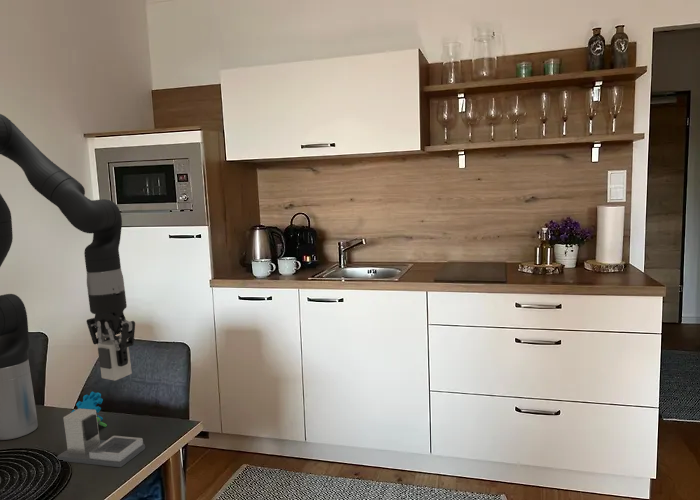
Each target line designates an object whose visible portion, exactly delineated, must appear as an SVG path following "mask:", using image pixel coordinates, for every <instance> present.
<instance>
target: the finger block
mask: <svg viewBox="0 0 700 500" xmlns="http://www.w3.org/2000/svg"><path fill="white" fill-rule="evenodd" d="M127 341H128V339H127ZM119 343H120V344H121V339H119ZM96 346H97V354H98V361H99V367H100V376H101V379H105V380H111V381H118V380H121V379H123V378H125V377H127V376H129V375H132V374H133V372H132V365H131V355H130V347H128V348H127V355H128V363H127V365H124V366H118V364H117V355H116V351H117V350H116V347H115V344H114V342H113V341H111V340H107V341H104V342H101V343H98V344H96Z"/></svg>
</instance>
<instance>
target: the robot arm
mask: <svg viewBox="0 0 700 500" xmlns="http://www.w3.org/2000/svg"><path fill="white" fill-rule="evenodd" d="M0 156H3V157H6V158H7V159H9V160H10V161H11V162H14V163H15V164H16V165H18V167H20V169H21V170H22V171H23V172H24V175H25V177H26V179H27V181H28V183H29V184H30V185H31V186H32V188H34V190H35V191H36V192H38V193H39V195H41V196H42V197H43V198H46V200H48V201H49V202H50V203H51V204H53V205H55V206H56V207H57V208H58V210H59V211H60V212H61V213H62V215H63V216H64V217H65V218H66V219H67V221H68V223H70V224H71V226H73V227H74V228H75V229H77V230H79V231H80V232H82V233H85V234H93V235H92V242H91V243H90V244H88V245H87V246H86V247H85V248H84V253H83V255H84V264H85V270H86V271H85V272H86V287H87V295H88V304H89V305H88V306H89V311H90V313H91V314H92V315H94V317H92V318H89V319H86V324H87V327H88V331H89V334H90V337H91V341H92V343H93V345H97V344H98V343H101V342H104V341H107V340H111V341H113V342H114V344H115V347H116V350H117V351H116V355H117V364H118V366H124V365H127V363H128V355H127V348H128V347H129V348H130V347H132V346H134V343H135V332H136V322H135V321H134V320H132V321H129V320H127V319H126V317H125V313H124V311H125V309H126V308H127V307H128V306H127V297H126V290H125V282H124V281H125V280H124V275H123V271H122V267H121V265H122V264H121V258H120V251H119V250H120V248H119V247H120V243H121V238H122V236H121V235H122V229H123V228H122V226H123V221H122V220H123V219H122V214H121V211H120V208H119V206H118V205H117V203H115V202H114V201H112V200H110V199H102V198H101V199H93V200H91V199H90V198H88V197H86V196H85V194H86V190H85V187H84V185H83V184H82V183H81V182H79V181H78V180H77V179H76V178H74V177H73V176H72V175H70V173H68V172H66V171H65V170H64V169H62V168H61V167H60V166H58V165H57V164H56V163H54V161H52V160H51V159H50V158H49V157H47V156H46V155H45V154H44V153H43V152H42V151H41V150H40V149H39V148H38V147H37V146H36V145H35V144H34V143H33V142H32V140H30V139H29V138H28V137H27V136H26V135H25V134H24V132H23V131H21V129H19V127H18V126H17V125H16V124H15V123H14V122H13V121H12V120H10V119H9V118H8V117H7V116H5V115H4V114H1V113H0ZM12 220H13V219H12V213H11V210H10V207H9V205H8V204H7V202H6V200H5V199H4V197H3V195H2V194H1V193H0V268H1V266H2V265H3V263H4V261H5V259H6V258H7V256H8V253H9V252H10V249H11V247H12V244H13V225H12V224H13V222H12ZM29 335H30V334H29V322H28V313H27V309H26V306H25V303H24V302H23V300H22V299H21V298H20V296H18V295H17V294H14V293H6V294H1V295H0V441H5V440H6V441H7V440H12V439H17V438H21V437H24V436H26V435H28V434H31V433H32V432H34V431H36V429H37V428H38V427H39V424H38V417H37V407H36V401H35V397H34V387H33V382H32V375H31V374H32V373H31V368H30V361H29V349H30V336H29ZM119 339H121V344H120V343H119ZM127 340H128V341H127Z"/></svg>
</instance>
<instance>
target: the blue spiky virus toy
mask: <svg viewBox="0 0 700 500" xmlns="http://www.w3.org/2000/svg"><path fill="white" fill-rule="evenodd" d="M103 401H104V398H102V393H100V392H95V391H91V392H90V393H89V395H88V394H85V395H83V397H82V401H81V400H79V401H77V403H76V405H75V406H76V407H77V409H92V410H96V415H97V423H98V426H99V425H100V426H102V428H106V427H107V424H106V423H105V422H103V419H104V418H103V416H100V415H99V413H100V411H101V409H102V407H101V406H99V405H102V403H103ZM98 404H99V405H98ZM97 405H98V406H97ZM75 410H76V409H73V410H71V412H70V413H72V412H74V411H75Z"/></svg>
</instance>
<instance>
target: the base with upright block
mask: <svg viewBox="0 0 700 500" xmlns="http://www.w3.org/2000/svg"><path fill="white" fill-rule="evenodd" d="M74 410H75V411H74V412H72V411H71V412H72V413H71V412H70V413H68V414H66V415H64V416H63V423H64V424H63V426H64V431H65V441H66V447H67V449H66V450H64V451H63V452H62V453H60V454H58V455H57V456H56V458H57V460H58V459H59V460H63V461H62V462H69V463H77V464H86V465H95V466H102V467H103V466H105V467H115V468H122V467H124V465H126V464H127V463H128V462H130V461H131V460H132V459H134V458H136V457H137V455H139V454H140V453H142V452H143V451H145V450H146V444H145V443H144V441H143V440H144V439H143V438H142V437H135V436H134V437H133V436H124V435H123V436H121V435H112V436H111V437H110V438H108V439H106V440H104V439H100V432H99V424H98V423H97V415H98V414H97V412H96V410H92V409H78V408H77V409H74ZM96 414H97V415H96Z"/></svg>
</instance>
